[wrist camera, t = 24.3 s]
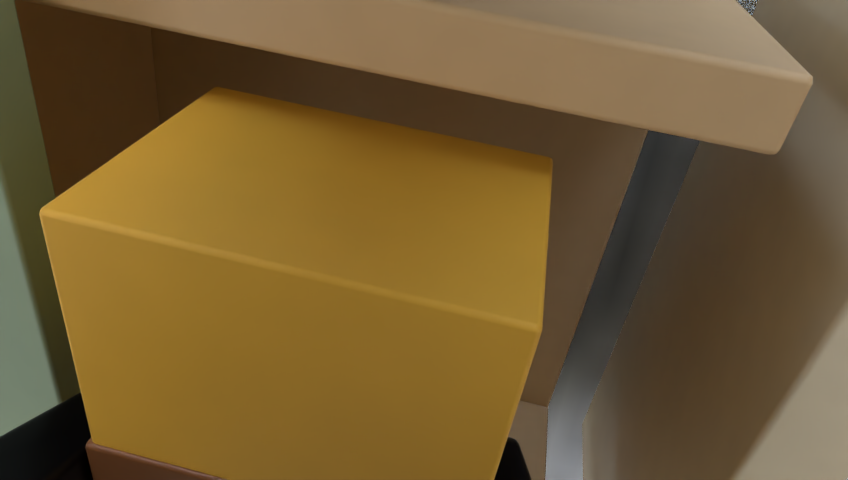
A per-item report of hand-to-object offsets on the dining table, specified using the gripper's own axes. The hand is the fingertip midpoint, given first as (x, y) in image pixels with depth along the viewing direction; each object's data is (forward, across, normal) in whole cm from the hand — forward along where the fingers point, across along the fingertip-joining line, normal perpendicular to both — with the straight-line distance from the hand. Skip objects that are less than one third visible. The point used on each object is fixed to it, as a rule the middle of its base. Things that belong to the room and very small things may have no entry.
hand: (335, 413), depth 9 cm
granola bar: (+1, 0, 0) cm, 1 cm away
